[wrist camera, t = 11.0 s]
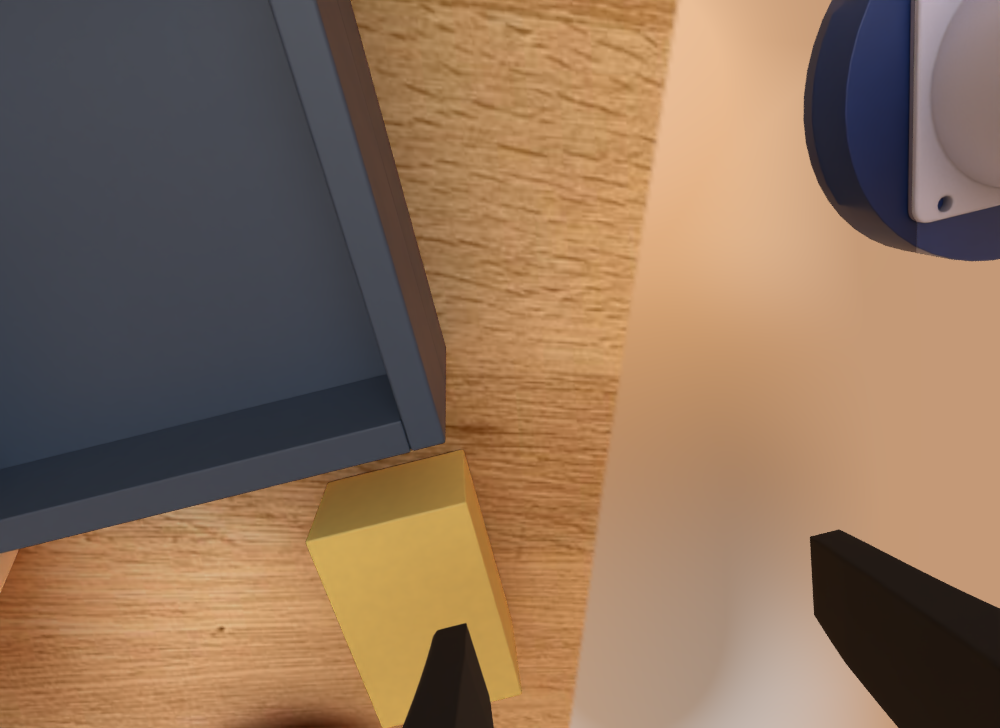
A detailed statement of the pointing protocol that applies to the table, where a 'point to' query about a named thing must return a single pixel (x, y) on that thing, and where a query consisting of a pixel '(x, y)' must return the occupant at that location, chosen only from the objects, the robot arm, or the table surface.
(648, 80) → the table surface
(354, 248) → the bin
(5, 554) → the mug
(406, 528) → the notepads
